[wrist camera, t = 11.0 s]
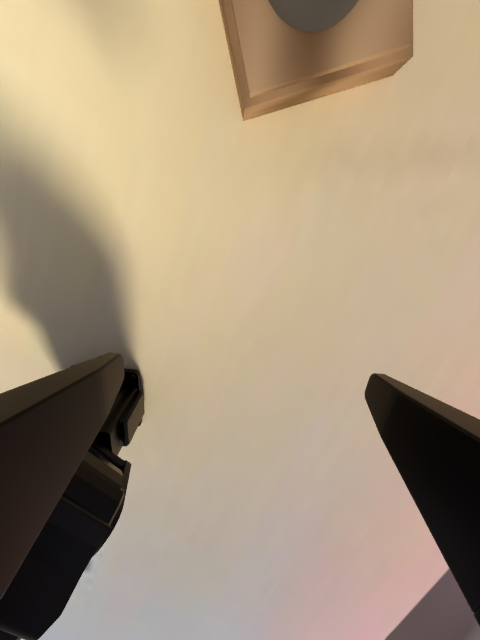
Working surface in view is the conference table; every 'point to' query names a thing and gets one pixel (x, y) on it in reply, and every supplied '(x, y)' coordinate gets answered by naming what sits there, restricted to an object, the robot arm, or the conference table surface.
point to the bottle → (312, 13)
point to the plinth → (312, 52)
